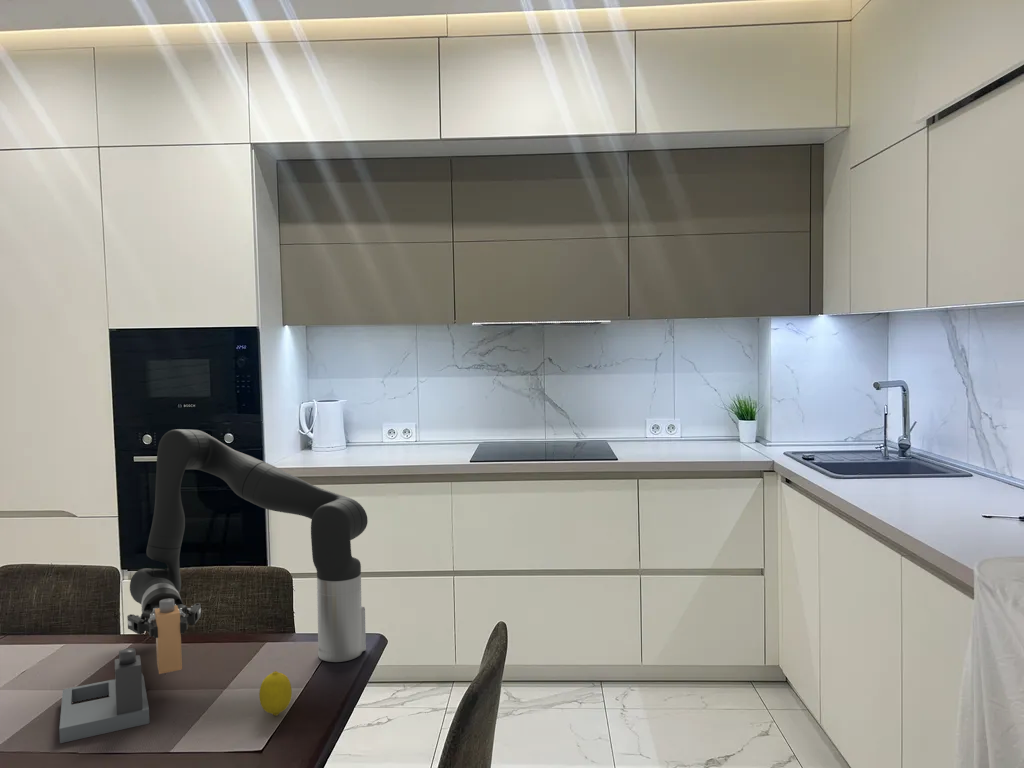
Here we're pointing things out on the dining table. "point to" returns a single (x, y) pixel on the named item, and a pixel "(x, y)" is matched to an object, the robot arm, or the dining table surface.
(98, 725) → the gray post stand
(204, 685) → the dining table surface
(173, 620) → the plug
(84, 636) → the dining table surface
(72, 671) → the dining table surface
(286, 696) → the lemon
